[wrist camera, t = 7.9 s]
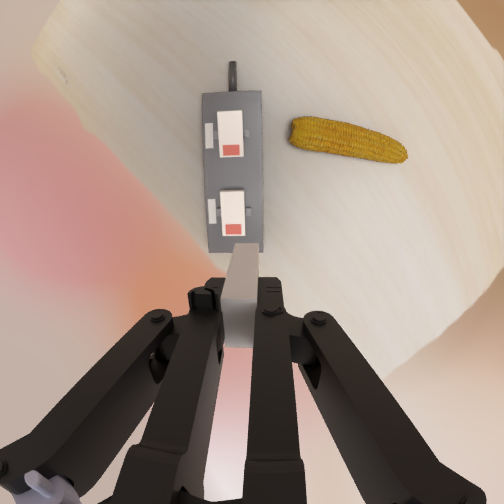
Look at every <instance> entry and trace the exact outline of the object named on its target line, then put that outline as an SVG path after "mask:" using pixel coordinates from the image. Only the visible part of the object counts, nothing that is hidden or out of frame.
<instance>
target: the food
mask: <svg viewBox="0 0 504 504" xmlns="http://www.w3.org/2000/svg"><path fill="white" fill-rule="evenodd" d="M291 127H292V133H291V136H290V138H289V142H290V143H291V144H292V145H295V146H296V147H298V148H301V149H305V150H310V151H316V152H327V153H333V154H338V155H343V156H348V157H356V158H364V159H367V160H374V161H377V162H378V161H379V162H385V163H395V164H396V163H403V162H404V160H406V159H408V154H407V150H406V149H405V147H404V146H403V145H401V143H399V142H398V141H396V140H394V139H392V138H390V137H388V136H386V135H383V134H381V133H378V132H375V131H372V130H369V129H365V128H362V127H360V126H356V125H352V124H349V123H346V122H344V123H343V122H338V121H333V120H328V119H322V118H317V117H311V116H310V117H299V118H296V119H294V120H293V123H292V125H291Z"/></svg>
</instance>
